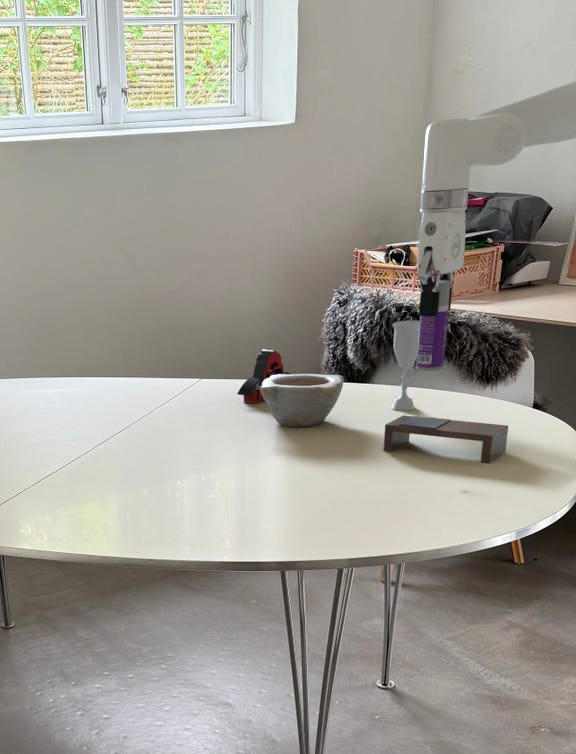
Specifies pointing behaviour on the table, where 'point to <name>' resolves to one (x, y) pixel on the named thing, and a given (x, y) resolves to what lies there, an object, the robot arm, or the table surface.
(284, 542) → the table surface
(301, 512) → the table surface
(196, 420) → the table surface
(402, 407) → the chalice
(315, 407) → the mortar
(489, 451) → the shelf
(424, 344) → the container
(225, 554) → the table surface
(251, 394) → the red black angled piece
